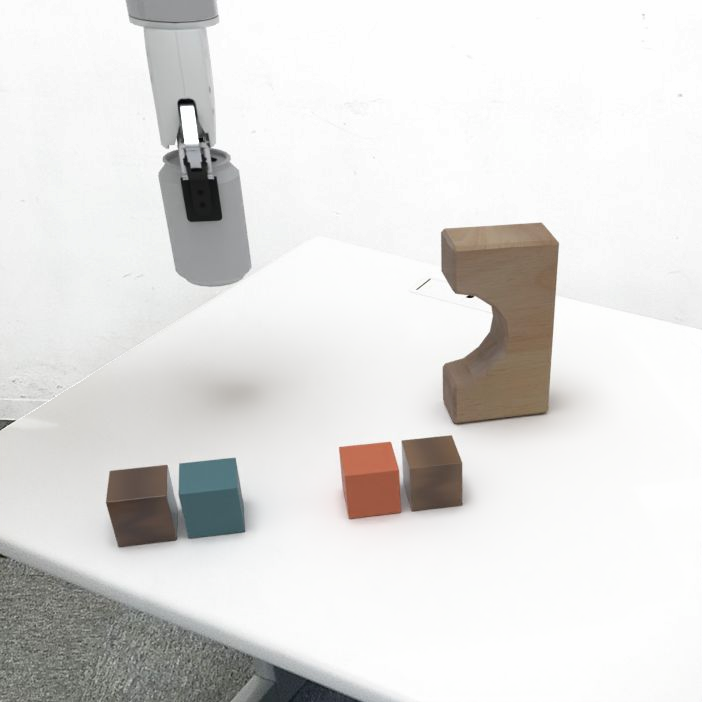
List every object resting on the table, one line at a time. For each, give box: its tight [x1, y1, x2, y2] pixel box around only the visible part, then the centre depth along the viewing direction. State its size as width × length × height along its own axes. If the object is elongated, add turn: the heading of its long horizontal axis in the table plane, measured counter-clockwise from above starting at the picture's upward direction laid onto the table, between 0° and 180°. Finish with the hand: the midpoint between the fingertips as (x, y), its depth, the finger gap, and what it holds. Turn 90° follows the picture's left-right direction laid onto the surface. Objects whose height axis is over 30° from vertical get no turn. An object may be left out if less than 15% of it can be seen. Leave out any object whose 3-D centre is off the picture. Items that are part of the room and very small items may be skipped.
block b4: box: [401, 434, 463, 512], centre depth 94 cm, size 5×5×5 cm
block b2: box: [178, 457, 246, 539], centre depth 89 cm, size 5×5×5 cm
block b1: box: [105, 464, 178, 548], centre depth 87 cm, size 5×5×5 cm
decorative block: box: [440, 222, 560, 424], centre depth 103 cm, size 11×6×20 cm, turn 106°
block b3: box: [338, 441, 402, 520], centre depth 92 cm, size 5×5×5 cm
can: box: [157, 147, 252, 288], centre depth 95 cm, size 8×8×12 cm
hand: (203, 204), depth 94 cm, fingers closed on can, 7 cm apart
